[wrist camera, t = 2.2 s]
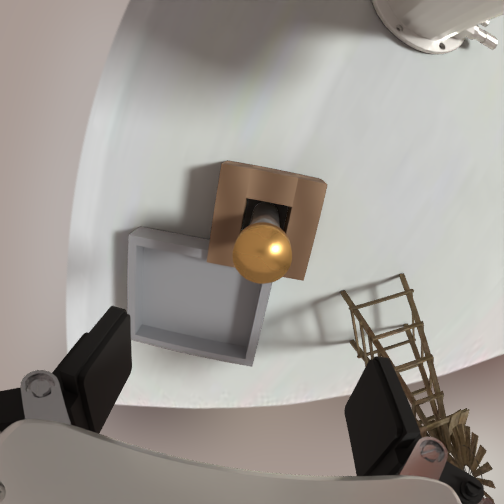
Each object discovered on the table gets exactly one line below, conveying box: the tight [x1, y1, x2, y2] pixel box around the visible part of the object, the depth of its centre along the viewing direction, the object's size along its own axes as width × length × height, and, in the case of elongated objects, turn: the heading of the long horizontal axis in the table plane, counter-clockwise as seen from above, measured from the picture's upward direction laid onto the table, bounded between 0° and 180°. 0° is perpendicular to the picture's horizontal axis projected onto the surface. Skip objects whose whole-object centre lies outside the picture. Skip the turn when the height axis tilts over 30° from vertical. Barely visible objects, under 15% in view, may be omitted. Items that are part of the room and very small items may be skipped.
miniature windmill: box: [340, 273, 495, 502], centre depth 24 cm, size 9×8×30 cm
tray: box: [127, 227, 272, 366], centre depth 37 cm, size 16×14×3 cm
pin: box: [232, 202, 292, 284], centre depth 28 cm, size 4×4×12 cm
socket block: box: [207, 160, 327, 280], centre depth 32 cm, size 10×10×4 cm
